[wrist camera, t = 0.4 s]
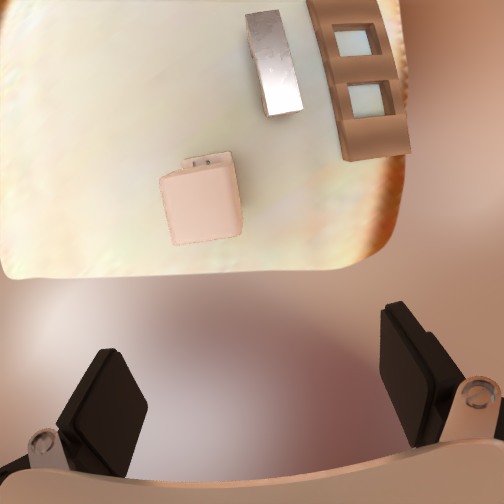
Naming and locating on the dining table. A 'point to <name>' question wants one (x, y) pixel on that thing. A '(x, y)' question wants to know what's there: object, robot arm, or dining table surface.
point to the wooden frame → (361, 79)
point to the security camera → (202, 200)
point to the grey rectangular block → (273, 63)
